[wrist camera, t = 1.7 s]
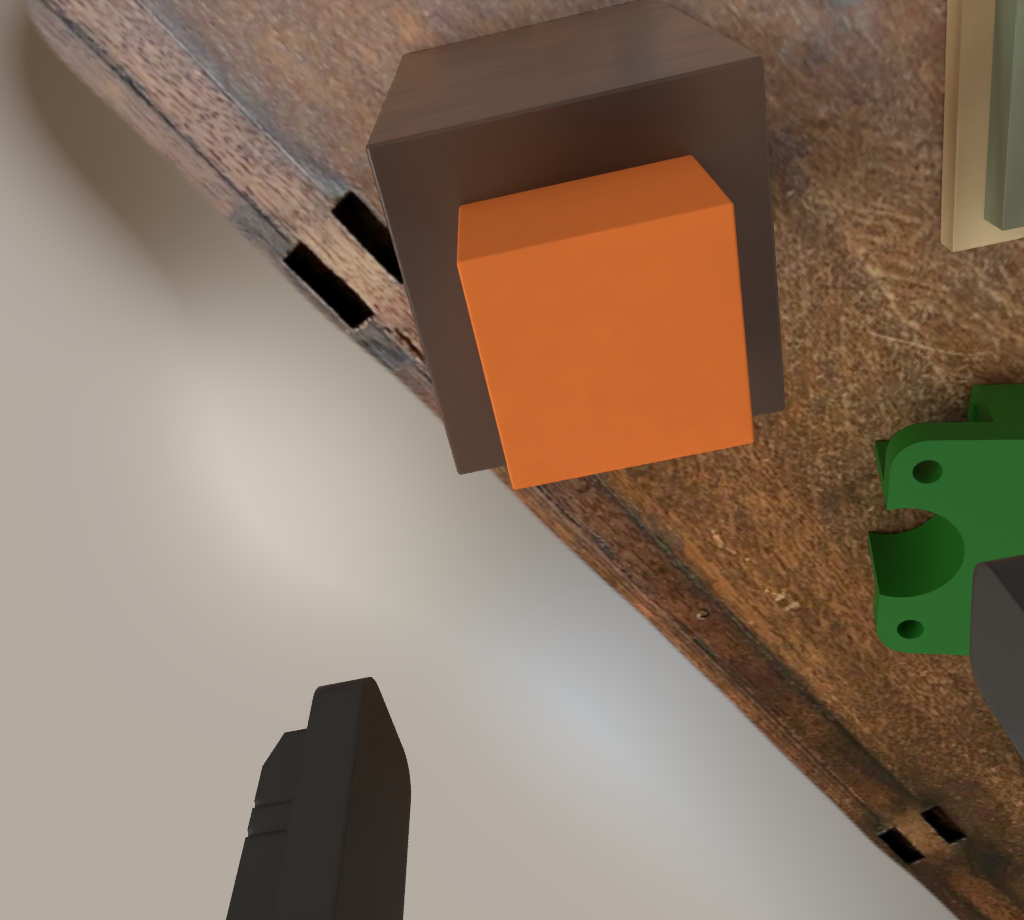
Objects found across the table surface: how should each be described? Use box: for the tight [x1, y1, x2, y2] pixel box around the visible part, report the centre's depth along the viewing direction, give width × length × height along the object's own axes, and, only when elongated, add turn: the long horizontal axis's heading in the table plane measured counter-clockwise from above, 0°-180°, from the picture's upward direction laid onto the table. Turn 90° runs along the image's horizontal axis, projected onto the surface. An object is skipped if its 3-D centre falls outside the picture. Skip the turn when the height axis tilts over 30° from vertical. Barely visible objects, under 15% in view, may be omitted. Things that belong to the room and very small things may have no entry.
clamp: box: [868, 384, 1024, 655], centre depth 41 cm, size 12×6×9 cm, turn 2°
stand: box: [366, 0, 785, 474], centre depth 29 cm, size 9×9×14 cm
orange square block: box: [457, 155, 754, 490], centre depth 21 cm, size 6×6×4 cm
